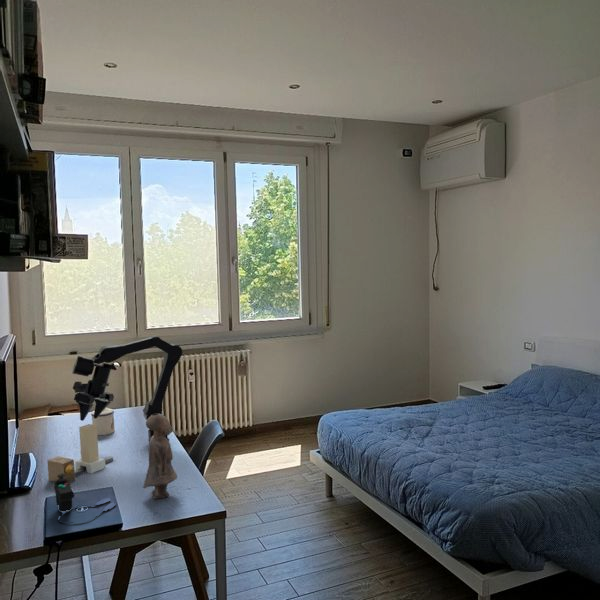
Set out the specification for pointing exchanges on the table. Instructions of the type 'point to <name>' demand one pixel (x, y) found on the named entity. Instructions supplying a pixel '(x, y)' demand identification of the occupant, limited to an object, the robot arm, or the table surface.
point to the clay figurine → (159, 457)
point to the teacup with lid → (104, 422)
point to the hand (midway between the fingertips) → (88, 419)
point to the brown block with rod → (66, 468)
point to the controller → (63, 493)
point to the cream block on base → (89, 450)
